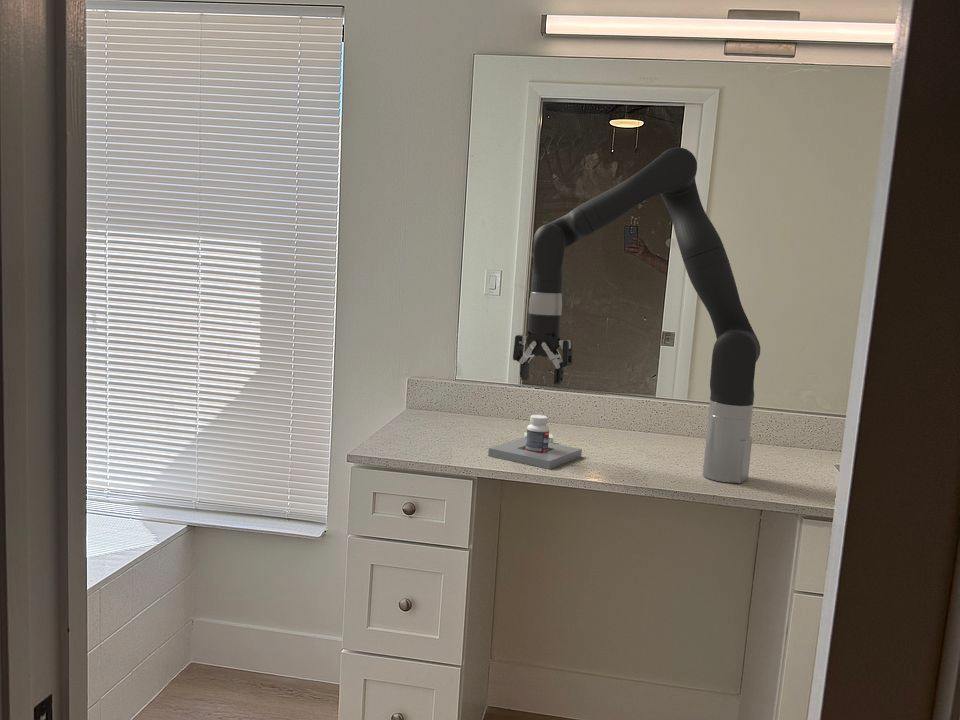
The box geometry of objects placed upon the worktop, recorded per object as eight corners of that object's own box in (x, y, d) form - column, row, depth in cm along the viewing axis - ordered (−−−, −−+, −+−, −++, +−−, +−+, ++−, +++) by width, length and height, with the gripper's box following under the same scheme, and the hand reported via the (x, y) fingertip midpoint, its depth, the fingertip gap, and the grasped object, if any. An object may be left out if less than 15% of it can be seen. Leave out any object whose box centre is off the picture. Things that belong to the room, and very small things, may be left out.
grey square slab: (581, 456, 203) (581, 449, 203) (548, 469, 190) (549, 461, 190) (523, 444, 212) (523, 437, 211) (488, 455, 198) (488, 448, 198)
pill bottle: (546, 457, 198) (548, 419, 196) (523, 455, 199) (526, 417, 197) (548, 452, 203) (551, 415, 201) (527, 449, 204) (529, 413, 202)
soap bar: (551, 443, 216) (551, 433, 216) (552, 447, 212) (553, 437, 211) (523, 441, 216) (524, 432, 216) (524, 446, 212) (525, 436, 211)
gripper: (580, 314, 195) (575, 384, 198) (526, 309, 203) (522, 376, 205) (565, 315, 189) (560, 388, 191) (509, 310, 197) (505, 380, 199)
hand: (540, 382), depth 198 cm, fingers open, 8 cm apart
